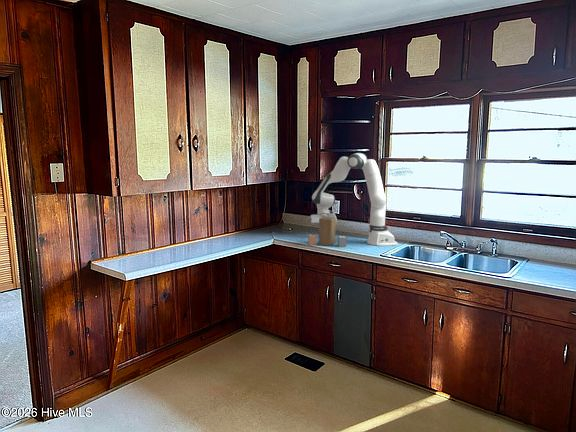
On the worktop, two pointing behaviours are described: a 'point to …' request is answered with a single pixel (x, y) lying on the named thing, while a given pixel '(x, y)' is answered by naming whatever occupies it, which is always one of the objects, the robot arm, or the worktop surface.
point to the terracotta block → (312, 239)
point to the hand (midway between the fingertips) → (324, 228)
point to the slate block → (341, 241)
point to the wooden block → (327, 231)
